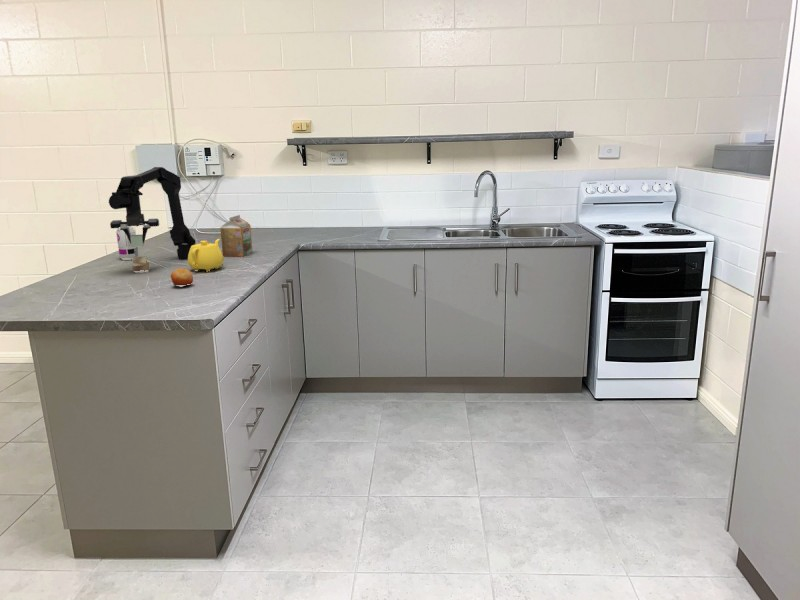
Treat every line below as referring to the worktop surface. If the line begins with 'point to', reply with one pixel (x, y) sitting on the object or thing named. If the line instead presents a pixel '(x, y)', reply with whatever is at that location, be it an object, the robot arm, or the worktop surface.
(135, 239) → the sage cube
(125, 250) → the supplement can
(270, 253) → the worktop surface
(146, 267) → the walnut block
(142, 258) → the maple block
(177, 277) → the fruit
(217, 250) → the teapot
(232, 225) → the milk carton
